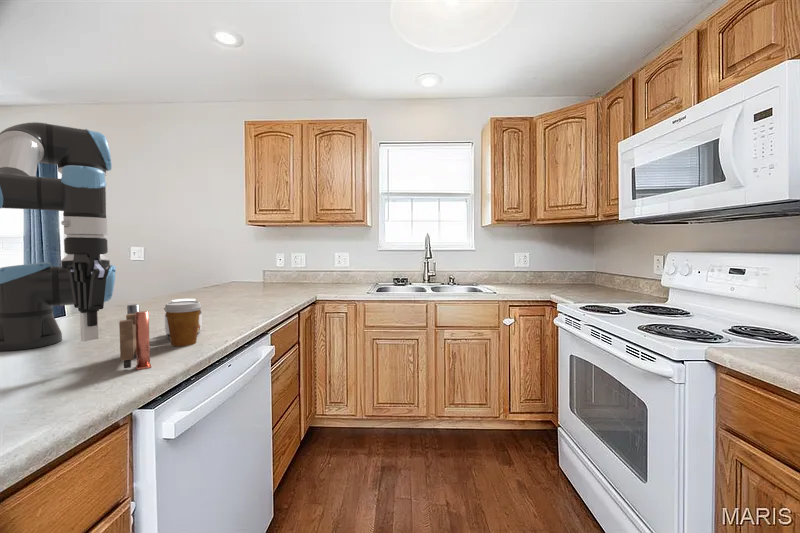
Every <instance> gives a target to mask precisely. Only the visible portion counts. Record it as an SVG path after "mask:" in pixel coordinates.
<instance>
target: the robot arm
mask: <svg viewBox="0 0 800 533" xmlns="http://www.w3.org/2000/svg"><path fill="white" fill-rule="evenodd" d="M111 157H112V156H111V152H110V146H109V143H108V140H107V137H106V136H105V135H104V134H103V133H102V132H100V131H99V132H98V131H95V130H89V129H87V128H85V129H82V128H76V127H71V126H70V127H69V126H63V125H58V124H49V123H47V122H46V123H45V122H36V121H34V122H25V123H19V124H18V123H17V124H14V125H12V126H10V127H9V126H8V127H7V128H5V129H3V130H1V131H0V209H13V210H14V209H16V210H38V211H42V210H43V211H58V212H63V214H62V215H63V220H62V221H61V222H60V224H61V225H62V226H63V234H64V235H66V237H65V238H63V245H64V254H66V256H65V257H64V258H62V259H61V260H60V266H53V264H52V263H51V262H50V261H48V262H47V261H45V262H36V263H35V262H34V263H26V264H17V265H11V266H10V265H9V266H2V267H0V352H9V351H10V352H11V351H20V350H21V351H22V350H29V349H34V348H35V349H36V348H40V347H46V346H50V345H54V344H57V343H60V342H62V341H63V333H62V330H61V329H60V326H59V325H58V323H57V320H56V318H55V316H54V306H55V307H57V306H61V307H62V306H72V305H73V308H74V309H77V308H78V309H77V310H78V312H79V319H80V321H79V322H80V341H82V342H88V341H94V340H99V321H98V320H99V318H98V312H99V311H100V310H103V309H104V304H105V303H107V302H109V301H110V300H111V299H112V297H113V294H114V293H113V292H114V288H115V281H116V268H117V267H116V266H115V265H113V264H111V263H110V259H109V258H108V257H107V256H105V255H106V254H108V251H109V250H108V239H107V238H105V236H107V235H108V219H107V190H106V186H107V182H106V176H107V172H108V171H111V170H112V169H113V168H112V167H113V165H112V158H111ZM38 163H39V164H49V165H56V166H57V172H58V173H60V174H61V177H60V178H57V177H56V178H55V177H43V176H37V170H38V165H39V164H38Z"/></svg>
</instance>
